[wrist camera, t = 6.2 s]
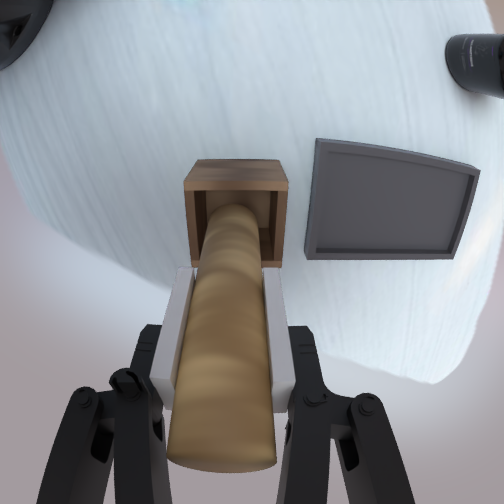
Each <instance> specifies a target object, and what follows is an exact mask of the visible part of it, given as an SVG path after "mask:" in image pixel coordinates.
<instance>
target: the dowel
mask: <svg viewBox="0 0 504 504" xmlns="http://www.w3.org/2000/svg"><path fill="white" fill-rule="evenodd" d="M166 457H167V459H169V460H170V461H171V462H173V463H175V464H178V465H180V466H183V467H187V468H191V469H195V470H200V471H207V472H216V473H245V472H253V471H260V470H264V469H267V468H270V467H272V466H274V465H275V464H276V463H277V457H276V443H275V429H274V416H273V402H272V394H271V382H270V369H269V356H268V343H267V331H266V318H265V306H264V294H263V278H262V267H261V255H260V244H259V233H258V223H257V219H256V217H255V215H254V214H253V212H252V211H251V210H249V209H248V208H247V207H245V206H243V205H239V204H226V205H223V206H221V207H219V208H217V209H216V210H215V211H214V212H213V213H212V215H211V216H210V219H209V222H208V226H207V231H206V235H205V239H204V244H203V248H202V252H201V257H200V261H199V266H198V270H197V275H196V280H195V285H194V289H193V294H192V299H191V304H190V309H189V314H188V319H187V325H186V330H185V335H184V341H183V346H182V352H181V358H180V363H179V369H178V375H177V381H176V388H175V394H174V401H173V408H172V415H171V422H170V430H169V437H168V445H167V453H166Z"/></svg>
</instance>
